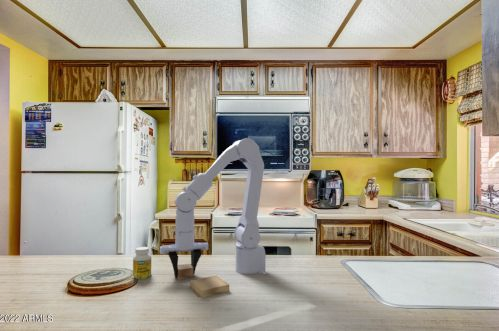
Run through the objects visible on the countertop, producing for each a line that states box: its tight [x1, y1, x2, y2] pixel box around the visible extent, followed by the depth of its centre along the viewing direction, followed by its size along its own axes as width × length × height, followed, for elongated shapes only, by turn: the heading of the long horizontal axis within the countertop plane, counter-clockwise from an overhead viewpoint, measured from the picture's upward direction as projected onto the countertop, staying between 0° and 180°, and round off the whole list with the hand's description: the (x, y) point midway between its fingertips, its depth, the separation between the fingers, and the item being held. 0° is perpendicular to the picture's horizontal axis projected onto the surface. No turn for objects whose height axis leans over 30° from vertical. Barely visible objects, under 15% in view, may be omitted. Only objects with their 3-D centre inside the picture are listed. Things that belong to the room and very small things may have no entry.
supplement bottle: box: [132, 246, 152, 280], centre depth 95 cm, size 5×5×10 cm
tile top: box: [189, 275, 230, 298], centre depth 85 cm, size 8×8×2 cm
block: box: [176, 263, 194, 280], centre depth 95 cm, size 4×4×4 cm
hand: (184, 274), depth 95 cm, fingers closed on block, 4 cm apart
